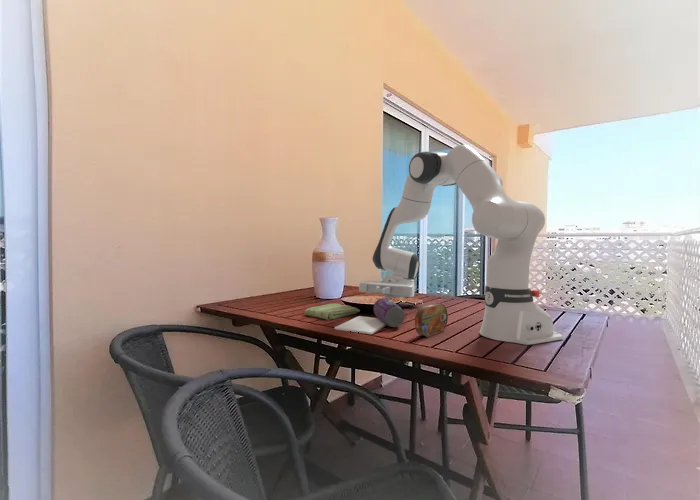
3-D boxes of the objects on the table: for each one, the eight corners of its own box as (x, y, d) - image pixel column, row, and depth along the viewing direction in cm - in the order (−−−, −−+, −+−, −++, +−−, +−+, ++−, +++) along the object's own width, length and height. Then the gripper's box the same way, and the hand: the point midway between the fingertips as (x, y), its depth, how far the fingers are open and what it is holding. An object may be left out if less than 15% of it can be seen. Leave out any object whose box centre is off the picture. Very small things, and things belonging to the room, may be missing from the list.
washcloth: (361, 313, 137) (361, 305, 137) (329, 322, 124) (329, 312, 124) (334, 309, 146) (334, 300, 146) (301, 316, 132) (301, 307, 132)
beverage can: (396, 307, 128) (410, 316, 116) (382, 322, 127) (394, 333, 115) (383, 292, 126) (395, 301, 114) (368, 308, 125) (379, 318, 114)
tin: (422, 339, 103) (422, 309, 103) (412, 337, 105) (413, 307, 105) (448, 330, 114) (449, 302, 114) (439, 328, 117) (439, 301, 116)
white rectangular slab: (358, 317, 129) (358, 316, 129) (392, 321, 124) (392, 319, 124) (334, 329, 113) (334, 327, 113) (371, 334, 108) (371, 332, 108)
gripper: (367, 276, 146) (352, 280, 134) (418, 280, 138) (407, 284, 125) (366, 292, 147) (351, 297, 134) (418, 297, 138) (407, 303, 125)
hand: (379, 291), depth 129 cm, fingers closed
